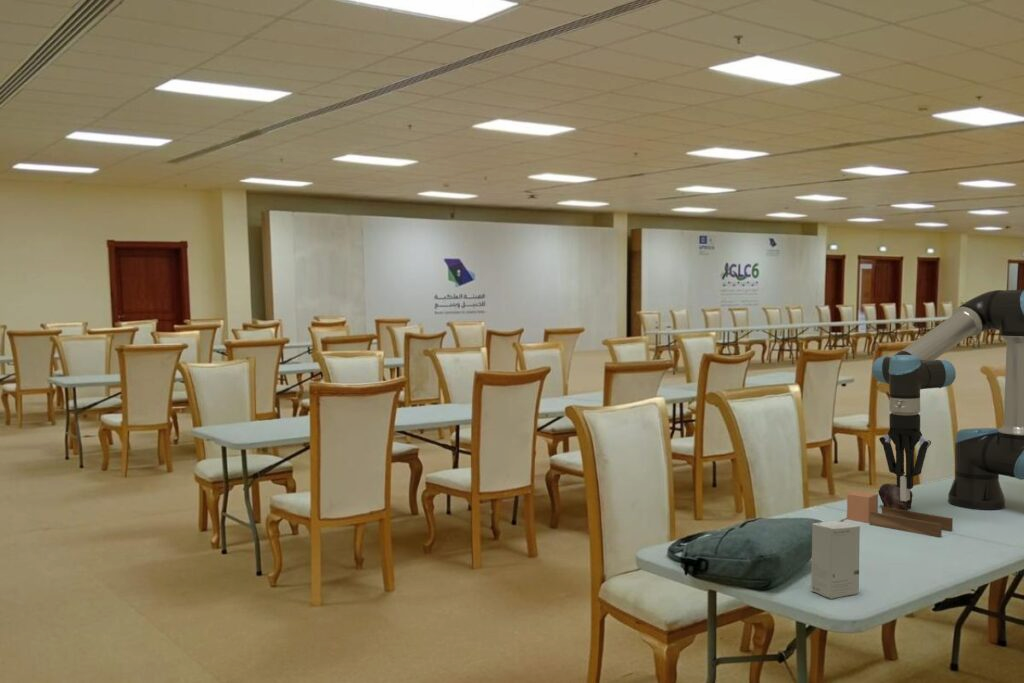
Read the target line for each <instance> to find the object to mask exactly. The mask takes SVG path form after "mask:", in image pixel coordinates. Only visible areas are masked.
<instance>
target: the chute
mask: <svg viewBox="0 0 1024 683" xmlns="http://www.w3.org/2000/svg"><path fill="white" fill-rule="evenodd" d="M847 520H848V519H847V517H846V518H843V519H840V520H839V521H844V522H845V521H847ZM953 520H954V519H953V517H947V516H941V515H935V514H930V513H923V512H917V511H910V510H908V511H906V510H900V509H894V508H888V507H885V506H883V507H881V512H878V513H875V512H870V523H869V526H874V527H880V528H885V529H890V530H896V531H901V532H906V533H910V534H911V533H912V534H917V535H923V536H928V537H935V538H940V539H941V537H942V531H945V532H953V530H954V529H953V528H954V527H953V523H954V521H953Z"/></svg>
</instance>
